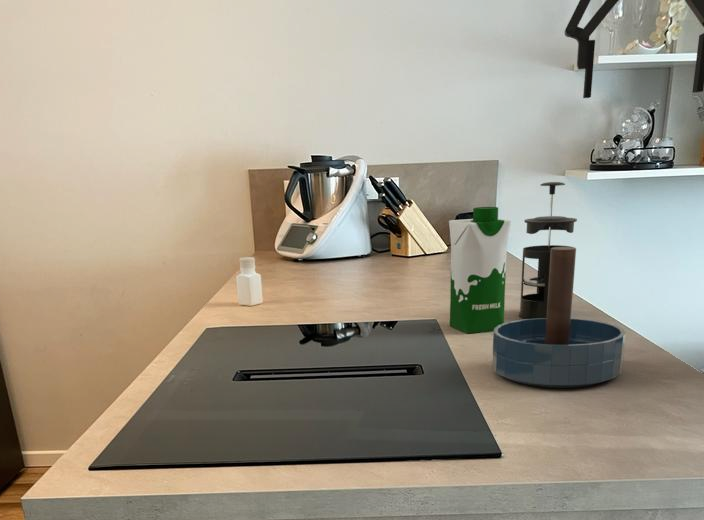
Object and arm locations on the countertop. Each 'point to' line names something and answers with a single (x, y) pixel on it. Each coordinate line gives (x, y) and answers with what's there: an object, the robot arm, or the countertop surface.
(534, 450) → the countertop surface
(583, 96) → the robot arm
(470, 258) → the milk carton
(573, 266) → the brown wooden cylinder
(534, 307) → the french press
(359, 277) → the countertop surface
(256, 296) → the pepper shaker
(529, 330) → the bowl
